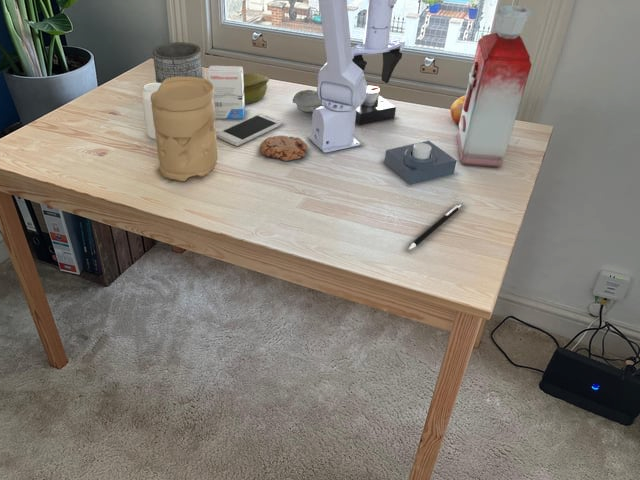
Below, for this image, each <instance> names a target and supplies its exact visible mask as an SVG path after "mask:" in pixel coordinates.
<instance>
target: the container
mask: <svg viewBox="0 0 640 480" xmlns="http://www.w3.org/2000/svg"><path fill="white" fill-rule="evenodd" d="M213 96H214V91H213V85H212V83H211V82H210V81H208V80H207V78H204V77H203V78H199V77H180V76H177V77H171V78H167V79H165V80H164V81H163V82H162V84H161V85H160V87H159V88H158V91H157V92H154V93H152V94H151V103H152V113H153V121H154V127H155V131H156V132H155V135H156V140H155V143H156V149H157V150H156V151H157V156H158V162H159V171H160V174H161V176H162V177H163V178H165V179H166V178H167V179H171V180H175V181H179V182H186V181H187V180H188V179H189V178H190V177H196V176H199V177H200V178H202V177H205V176H207V175H208V174H210V173H211V172H212V171H213V170H214V169H215V167H216V165H217V164H218V162H217V161H218V158H219V155H218V142H217V129H216V126H215V121H216V118H215V106H214V101H213Z"/></svg>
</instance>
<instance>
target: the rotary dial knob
mask: <svg viewBox="0 0 640 480" xmlns="http://www.w3.org/2000/svg"><path fill="white" fill-rule="evenodd" d="M380 91H381V89H380V87H379V86H374V85H367V94H366V97H365V100H364V102H363V104H362V105H363V106H367V107H373V106H376V105H378V100H379V96H380Z"/></svg>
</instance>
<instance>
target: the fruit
mask: <svg viewBox="0 0 640 480" xmlns="http://www.w3.org/2000/svg"><path fill="white" fill-rule="evenodd" d="M465 96H466V94H464V95H462V96H460V97H459V98H457V99H455V101H454V102H452V104H451V106H450V108H449V109H450V115H451V118H452V121H453V122H454V123H455V124H456V125H458V126H459V122H460V118H461V114H462V109H463V105H464V101H465Z"/></svg>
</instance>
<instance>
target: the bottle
mask: <svg viewBox="0 0 640 480" xmlns="http://www.w3.org/2000/svg"><path fill="white" fill-rule="evenodd" d="M532 15H533V13H532V11H531V10H530V9H529V8H527V7H526V6H518V5H503V6H501V7H500V8H499V9H498V10H496V12H495V32H493V33H488V34H483V35H482V36H481V38H480V39H478V40H477V44H476V49H475V54H474V58H473V62H472V67H471V70H470V71H469V74H468V77H469V80H468V84H467V88H466V93H465V95H466V96H465V95H464V96H465V101H464V105H463V109H462V114H461V118H460V122H459V125H458V132H457V133H456V139H457V146H458V147H457V148H458V156H459V161H460V163H462V164H463V165H465V166H476V167H477V166H478V167H487V168H488V167H489V168H498V167H501V166H502V165H503V160H502V159H503V158H504V157H505V156H506V153H507V149H508V146H509V143H510V139H511V137H512V133H513V129H514V126H515V122H516V119H517V115H518V112H519V109H520V106H521V102H522V99H523V95H524V92H525V88H526V85H527V82H528V79H529V75H530V72H531V69H532V62H531V56H530V54H529V51H528V49H527V47H526V45H525V43H524V40H523V38H522V37H521V34H523V32H524V31H525V29H526V27H527V25H528V22H529V21H530V19H531V17H532Z"/></svg>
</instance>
